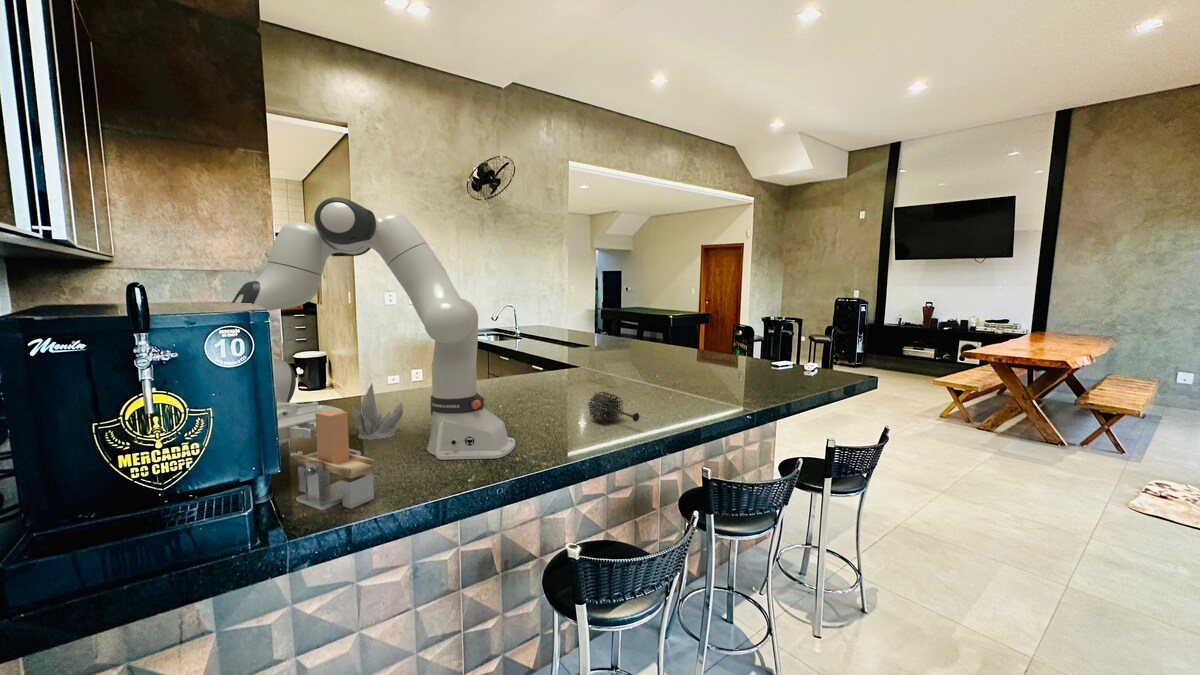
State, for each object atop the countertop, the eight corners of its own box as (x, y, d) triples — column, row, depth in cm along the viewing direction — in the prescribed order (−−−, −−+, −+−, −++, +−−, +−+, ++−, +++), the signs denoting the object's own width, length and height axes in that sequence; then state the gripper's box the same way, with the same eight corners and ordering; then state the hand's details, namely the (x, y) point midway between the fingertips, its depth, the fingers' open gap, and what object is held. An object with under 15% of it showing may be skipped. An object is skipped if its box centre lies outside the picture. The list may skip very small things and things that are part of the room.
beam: (293, 463, 97) (293, 454, 97) (323, 454, 102) (323, 445, 102) (347, 480, 89) (346, 469, 89) (376, 469, 94) (376, 459, 94)
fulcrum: (282, 497, 95) (280, 458, 94) (337, 477, 105) (335, 442, 104) (334, 516, 87) (332, 474, 87) (387, 492, 97) (386, 455, 97)
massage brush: (624, 435, 137) (624, 404, 136) (578, 418, 154) (578, 390, 153) (647, 430, 143) (648, 399, 142) (600, 414, 160) (601, 386, 159)
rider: (317, 462, 95) (315, 413, 94) (335, 456, 98) (332, 409, 97) (332, 466, 93) (329, 416, 92) (349, 460, 96) (347, 412, 95)
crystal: (406, 435, 135) (405, 383, 133) (354, 443, 128) (351, 388, 126) (401, 426, 143) (399, 377, 142) (351, 433, 136) (349, 381, 135)
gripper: (220, 420, 94) (259, 430, 88) (321, 399, 112) (359, 407, 106) (222, 451, 95) (261, 463, 89) (322, 425, 113) (360, 434, 107)
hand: (315, 432), depth 97 cm, fingers closed
